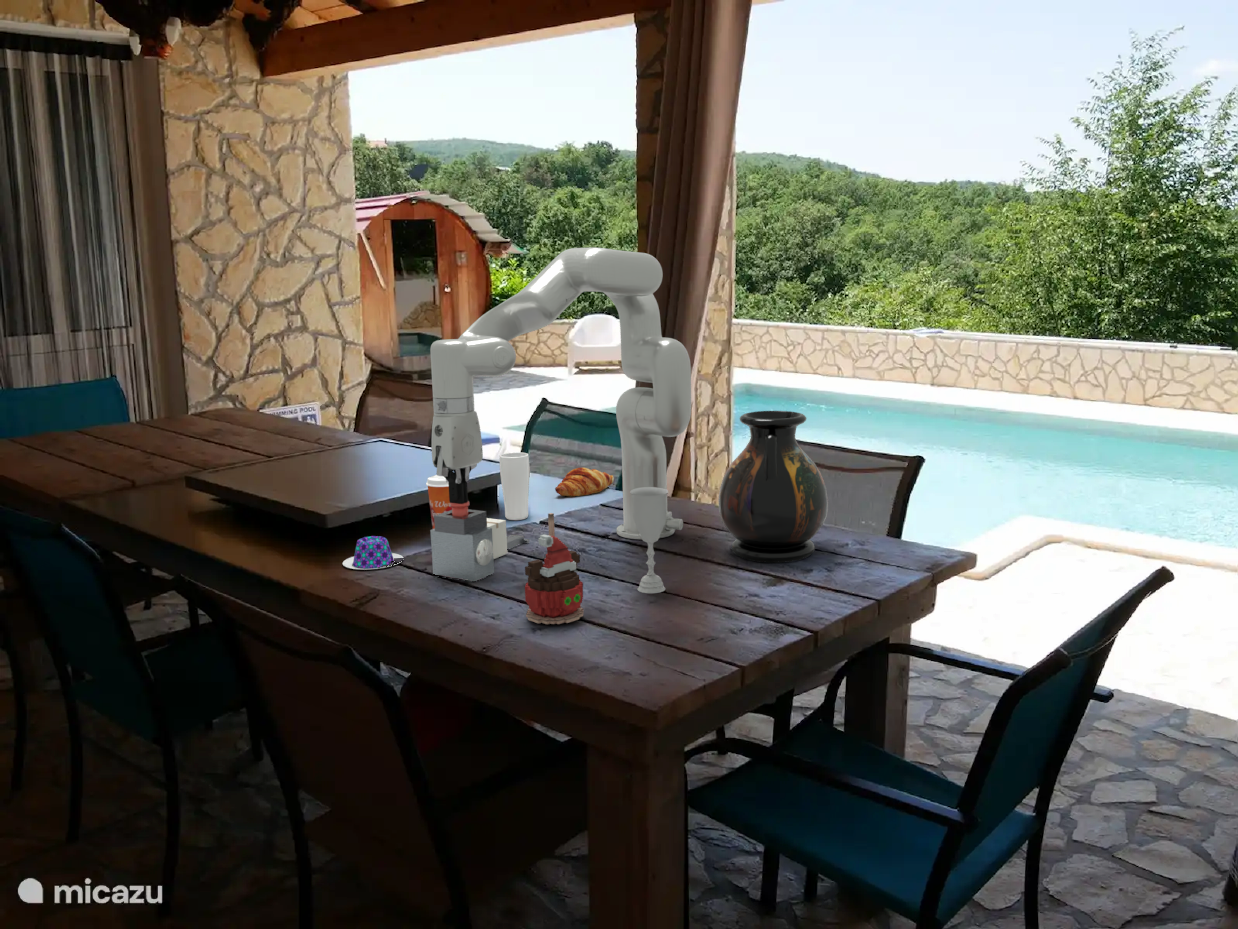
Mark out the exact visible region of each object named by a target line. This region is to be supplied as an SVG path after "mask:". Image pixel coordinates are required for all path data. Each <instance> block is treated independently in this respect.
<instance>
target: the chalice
mask: <svg viewBox="0 0 1238 929" xmlns="http://www.w3.org/2000/svg"><path fill="white" fill-rule="evenodd" d="M630 493H631V495H632V497H633V518H634V521H635V524H636V527H637V529H638V531H639V533H640V536H641V538H642V539H641V540H642V541H643V542H645V543H646V544H647V551H646V555H647V557H648V558H647V561H646V562H645V565H647V567H648V570H647V573H646V575H644V576H642V578H641V579H640V583H639V586H638V587H637V588H636V589H637V591H638V592H639V593H642V594H659V593H662V592H664V591H665V590H666V587H665V586H664V582H663V580H662V578H661V577H660V575H657V574H656V573H655V571H654V568H655V564H656V561H655V560H654V555H655V554H656V553H655V551H654V543H656V542H658V541H659V539H660V538H659V536H660V534H661V532H662V530H663V527H664V524H665V521H666V496H667V497H668V493H669V490H668V489H663V488H657V487H643V488H637V489H633V490H631V491H630ZM656 565H657V564H656Z"/></svg>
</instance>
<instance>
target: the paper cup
mask: <svg viewBox="0 0 1238 929" xmlns="http://www.w3.org/2000/svg"><path fill="white" fill-rule="evenodd" d="M426 480H427V481H426V483H425V485H426V486H427V493H428V501H429V509H430V517H431V518H430V519H431V526H432V529H435V524H434V516H435V515H438V514H441V513H444V512H447V511H450V510H452V507H451V506H450V501H449V483H447V482H446V478H445V477H444V476H437V474H435V475H432V476H429V477H427V479H426Z"/></svg>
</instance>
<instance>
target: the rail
mask: <svg viewBox="0 0 1238 929" xmlns="http://www.w3.org/2000/svg"><path fill="white" fill-rule="evenodd" d="M529 542H530V543H531V541H530V538H529V539H528V538H525V536H524V535H519V534H510V535H508V536H507V549H509V548H512V547H514V546H516V545H518V544H521V545H523V544H522V543H529ZM530 543H529V544H530ZM514 548H515V547H514ZM512 549H513V548H512Z"/></svg>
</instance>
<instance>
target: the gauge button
mask: <svg viewBox="0 0 1238 929" xmlns="http://www.w3.org/2000/svg"><path fill="white" fill-rule="evenodd" d="M450 506H451V507H452V516H458V517H463V516H466V515H468V509H469V506H470V500H468V502H467V503H464V504H458V503H450Z"/></svg>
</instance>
